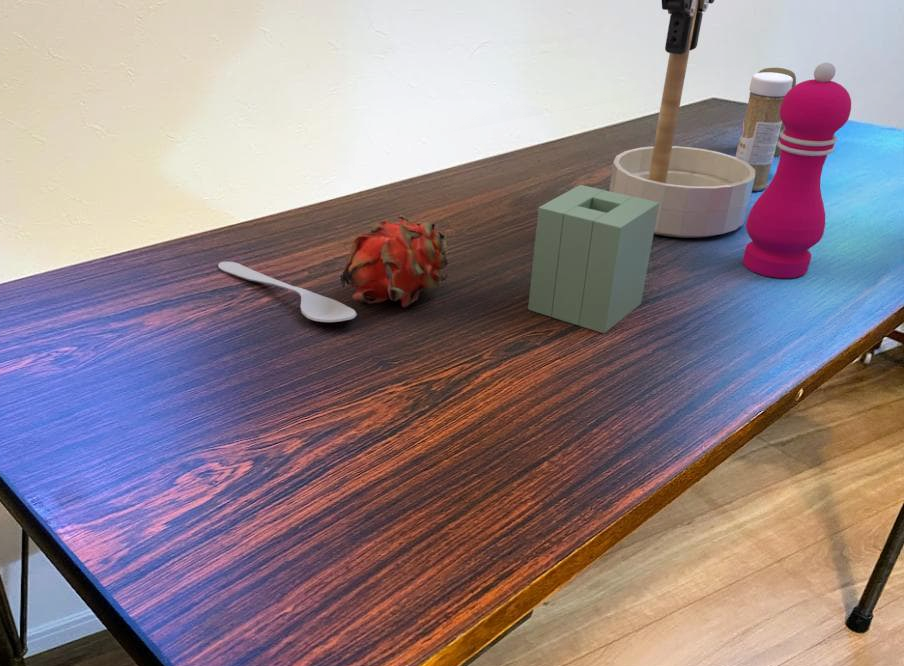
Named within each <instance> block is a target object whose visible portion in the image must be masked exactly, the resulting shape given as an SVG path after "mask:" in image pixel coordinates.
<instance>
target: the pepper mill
mask: <svg viewBox="0 0 904 666" xmlns="http://www.w3.org/2000/svg"><path fill="white" fill-rule="evenodd" d="M835 75H836V67H835V66H834V64H832V63H831V62H822V63H820V64H818V65H817V66H816V67H815V68H814V71H813V78H814V79H808V80H807V79H806V80H804V81H801V82H799V83H796V85H795V86H794V87H792V88H791V89H790V90H789V91H788V92H787V94H786V95H785V97H784V99H783V101H782V104H781V107H780V118H781V120H782V122H783V124H784V126H785V130H782V131H781V132H780V140H779V141H778V143H777V145H778V147H779V148H780V149H781V153H780V156H779V161H778V164H777V167H776V171H775V173H774V175H773V177H772V179H771V181H770V183H769V184H767V187H766V188H765V189H764V191H763V192H762V193H761V194H760V196H759V197H758V199H756V201H755V202H754V203H753V206H752V207H751V209H750V211H749V213H748V216H747V219H746V222H745V230H746V233H747V235H748V237H749V238H750V240H751V241H750V242H748V243H747V244H746V245H745V248H744V252H743V256H742V264H743V266H744V267H745V268H746V269H747V270H748V271H750V272H753V273H754V274H755V273H756V274H758V275H760V276H765V277H767V278H774V279H795V278H800V277H802V276H804V275H805V274H807V272H808V270H809V266H810V263H811V260H812V253H811V252H810V251H809V249H811V248H813V247H814V246H816V245H817V244H819V242H820V241H821V240H822V239H823V236H824V235H825V227H826V210H825V207H824V206H825V205H824V201H823V196H822V189H821V178H822V173H823V168H824V165H825V163H826V159H827V158H828V155H831V154H833V152H834V151H835V143H837V141H838V138H837V136H836V135H835V134H836V133H837V132H838V131H839V130H841V128H843V127H844V126H845V124H846V123H847V122H848V121H849V118H850V116H851V112H852V99H851V95H850V93H849V92H848V90H847V89H846V88H845V87H844V86H843V85H841V83H839V82H836V81H833V79H834V78H835Z"/></svg>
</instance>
